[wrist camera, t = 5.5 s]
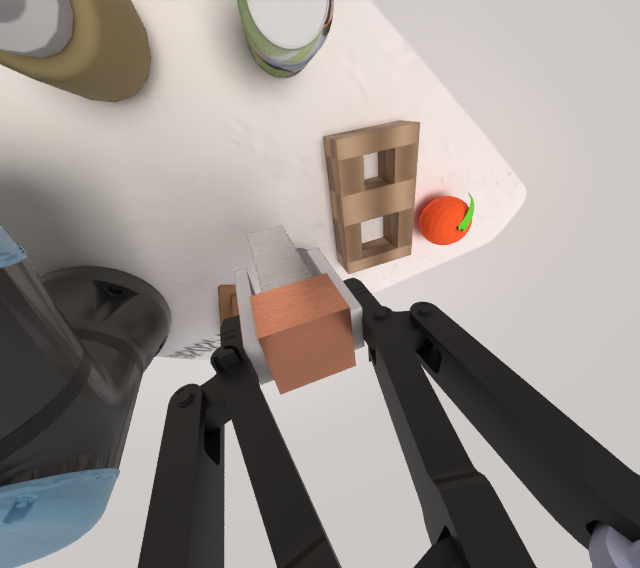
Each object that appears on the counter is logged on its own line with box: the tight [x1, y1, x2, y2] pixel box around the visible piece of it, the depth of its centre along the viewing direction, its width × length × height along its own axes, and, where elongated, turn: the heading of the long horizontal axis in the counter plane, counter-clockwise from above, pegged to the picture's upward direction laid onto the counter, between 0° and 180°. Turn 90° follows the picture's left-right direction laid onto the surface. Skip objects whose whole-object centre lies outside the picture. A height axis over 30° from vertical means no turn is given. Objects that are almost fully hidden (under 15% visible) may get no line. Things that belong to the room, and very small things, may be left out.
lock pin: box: [247, 225, 356, 394], centre depth 17 cm, size 4×4×12 cm
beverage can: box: [237, 0, 334, 78], centre depth 20 cm, size 6×7×12 cm
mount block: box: [324, 121, 420, 274], centre depth 35 cm, size 10×17×4 cm, turn 10°
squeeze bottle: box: [0, 0, 151, 102], centre depth 15 cm, size 8×8×18 cm
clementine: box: [419, 194, 474, 245], centre depth 39 cm, size 8×7×7 cm
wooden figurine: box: [218, 285, 239, 324], centre depth 35 cm, size 9×4×12 cm, turn 173°
